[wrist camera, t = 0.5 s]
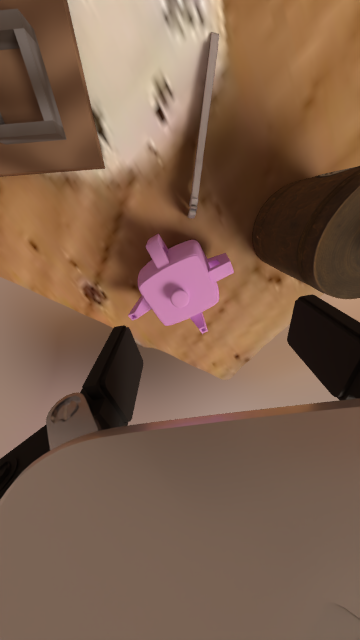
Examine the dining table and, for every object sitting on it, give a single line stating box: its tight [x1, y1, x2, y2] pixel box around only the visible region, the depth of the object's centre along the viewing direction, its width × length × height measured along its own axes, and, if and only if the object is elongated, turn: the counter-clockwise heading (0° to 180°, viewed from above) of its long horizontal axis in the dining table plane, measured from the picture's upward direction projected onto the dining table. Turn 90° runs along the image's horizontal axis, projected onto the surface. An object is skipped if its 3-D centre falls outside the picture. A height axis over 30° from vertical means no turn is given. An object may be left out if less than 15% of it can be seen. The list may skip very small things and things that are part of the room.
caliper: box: [188, 32, 219, 218], centre depth 25 cm, size 20×1×6 cm, turn 173°
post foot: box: [0, 0, 105, 177], centre depth 23 cm, size 16×18×4 cm
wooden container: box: [253, 166, 360, 299], centre depth 25 cm, size 15×15×22 cm
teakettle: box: [128, 233, 234, 333], centre depth 34 cm, size 17×17×12 cm
